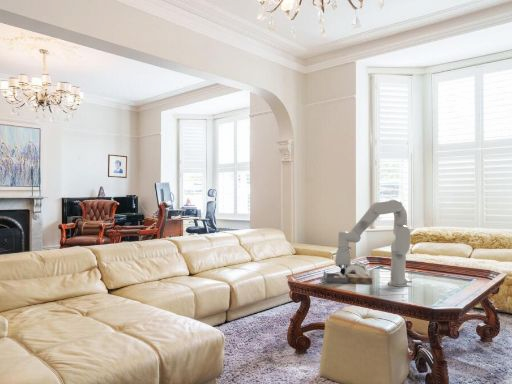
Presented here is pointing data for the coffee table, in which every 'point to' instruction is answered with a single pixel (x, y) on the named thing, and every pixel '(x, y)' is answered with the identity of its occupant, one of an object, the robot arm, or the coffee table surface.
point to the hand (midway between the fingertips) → (342, 274)
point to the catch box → (334, 278)
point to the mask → (357, 268)
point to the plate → (359, 278)
